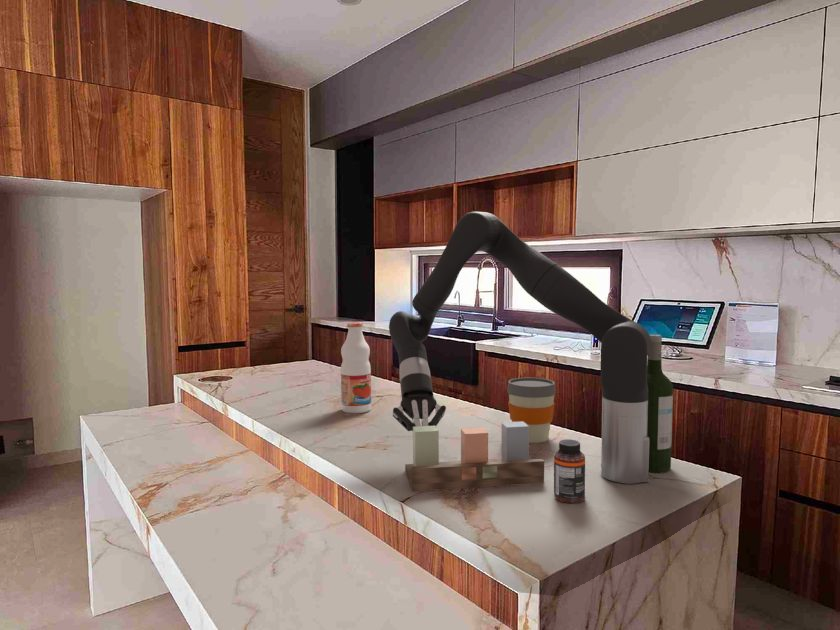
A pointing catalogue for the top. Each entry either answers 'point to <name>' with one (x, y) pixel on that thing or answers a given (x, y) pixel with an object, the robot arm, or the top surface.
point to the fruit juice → (355, 371)
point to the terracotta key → (474, 445)
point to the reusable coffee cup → (532, 405)
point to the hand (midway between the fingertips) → (423, 445)
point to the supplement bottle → (569, 472)
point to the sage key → (425, 446)
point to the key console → (474, 474)
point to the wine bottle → (659, 410)
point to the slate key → (515, 441)
